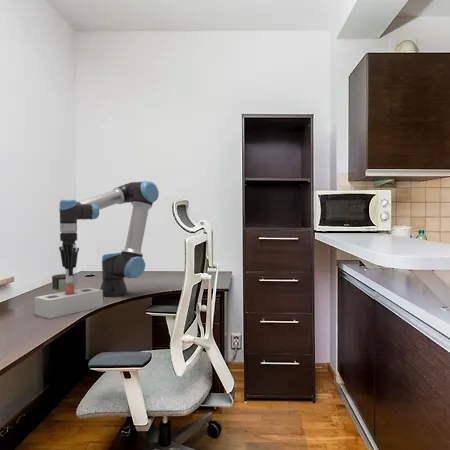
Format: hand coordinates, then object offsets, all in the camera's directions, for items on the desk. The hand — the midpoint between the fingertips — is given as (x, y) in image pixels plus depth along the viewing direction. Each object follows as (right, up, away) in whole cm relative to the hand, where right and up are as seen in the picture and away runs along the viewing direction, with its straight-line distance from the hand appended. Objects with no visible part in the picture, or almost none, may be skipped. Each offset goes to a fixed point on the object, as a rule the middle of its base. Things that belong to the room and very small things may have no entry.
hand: (69, 282), depth 194 cm
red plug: (0, -8, 0) cm, 8 cm away
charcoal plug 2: (+6, -12, +8) cm, 15 cm away
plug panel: (0, -13, +1) cm, 13 cm away
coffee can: (-9, -13, +16) cm, 23 cm away
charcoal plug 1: (-5, -12, -7) cm, 15 cm away
